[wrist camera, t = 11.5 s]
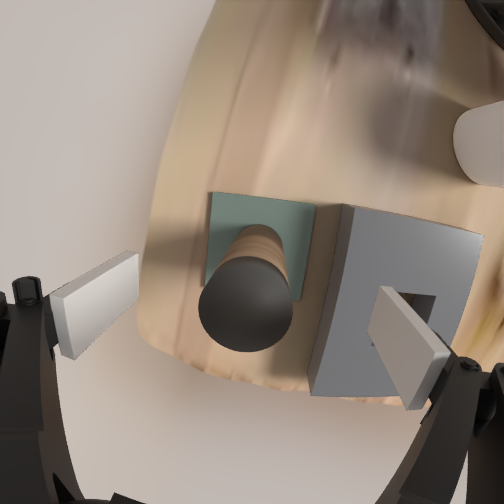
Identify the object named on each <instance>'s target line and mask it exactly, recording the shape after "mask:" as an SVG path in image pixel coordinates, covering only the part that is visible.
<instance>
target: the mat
mask: <svg viewBox="0 0 504 504" xmlns="http://www.w3.org/2000/svg"><path fill="white" fill-rule="evenodd" d="M315 207H316V205H314V204H307V203H301V202H294V201H287V200H279V199H272V198H264V197H256V196H248V195H239V194H230V193H221V192H213V196H212V206H211V216H210V227H209V238H208V250H207V263H206V276H205V286H206V284H207V283H208V281H209V279H210V278H211V276H212V275H213V273H214V271H215V270H216V268H217V267H218V265H219V263H220V262H221V260H222V259H223V257H224V255H225V254H226V252H227V251H228V249H229V247H230V246H231V244H232V243H233V241H234V240H235V238H236V236H237V235H238V234H239V232H240V231H241V230H242V229H244V228H245V227H247V226H250V225H254V224H262V225H266V226H269V227H271V228H272V229H274V230H275V231H276V232H277V233H278V235H279V236H280V238H281V240H282V244H283V250H284V256H285V262H286V269H287V275H288V282H289V288H290V295H291V300H294V301H300V297H301V291H302V286H303V280H304V275H305V269H306V263H307V258H308V252H309V246H310V239H311V233H312V227H313V220H314V213H315Z"/></svg>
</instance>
